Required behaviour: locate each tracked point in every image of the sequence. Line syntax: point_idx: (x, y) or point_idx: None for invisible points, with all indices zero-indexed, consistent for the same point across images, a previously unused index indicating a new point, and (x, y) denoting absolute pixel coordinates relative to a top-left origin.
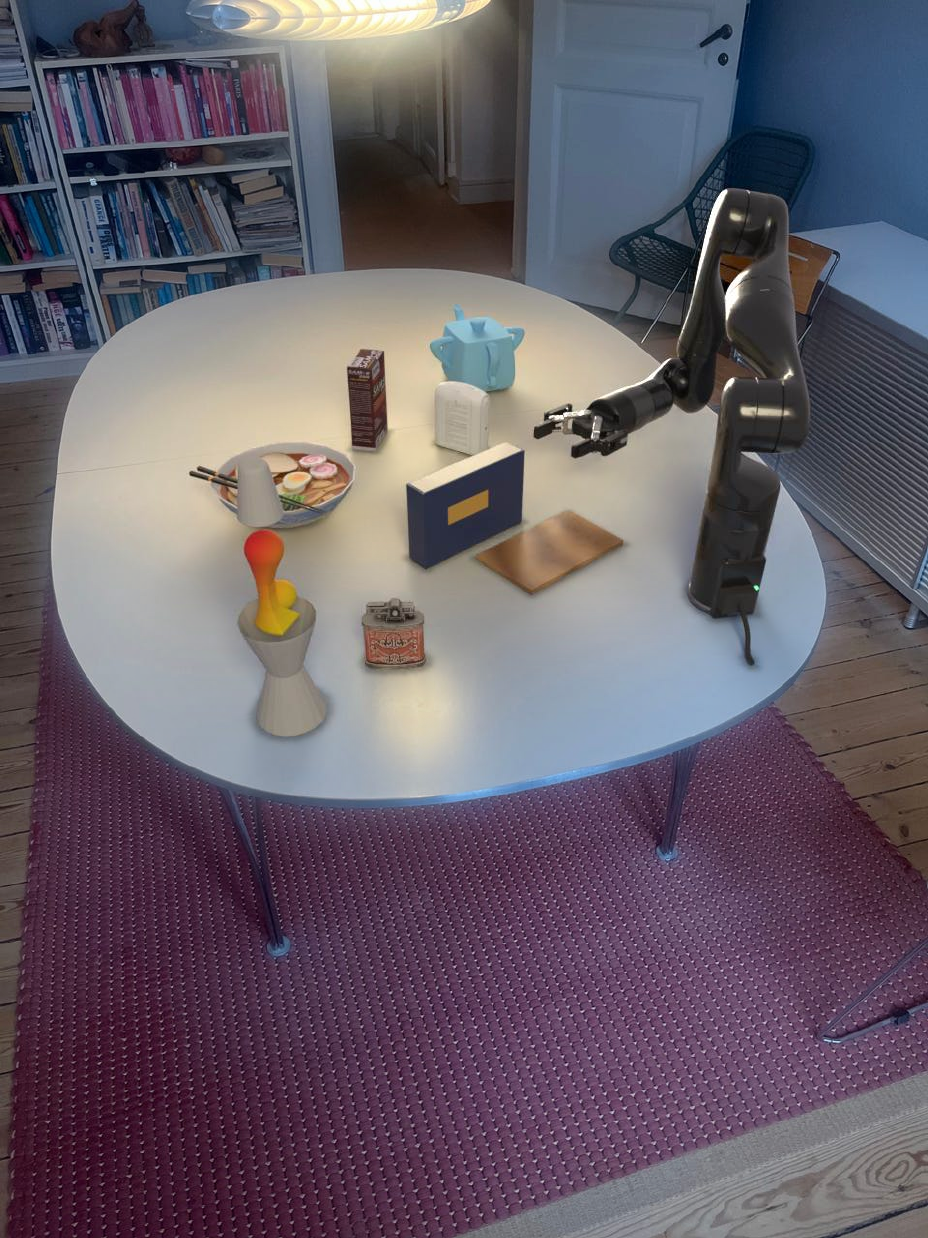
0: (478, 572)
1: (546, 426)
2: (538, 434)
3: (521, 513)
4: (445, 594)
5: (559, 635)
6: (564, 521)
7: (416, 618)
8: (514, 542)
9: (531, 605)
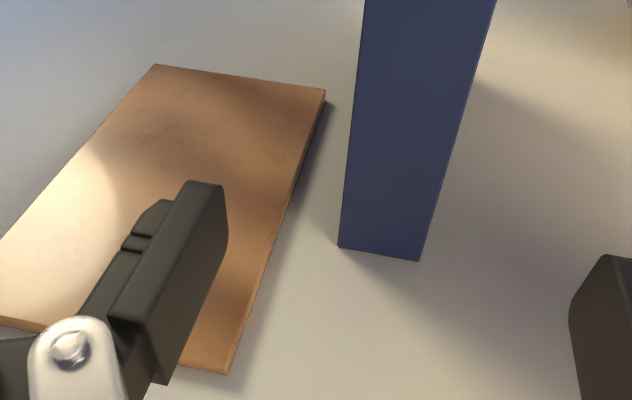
0: (292, 79)
1: (622, 359)
2: (583, 301)
3: (340, 220)
4: (302, 31)
5: (62, 33)
6: None
7: None
8: (280, 147)
9: (142, 58)
